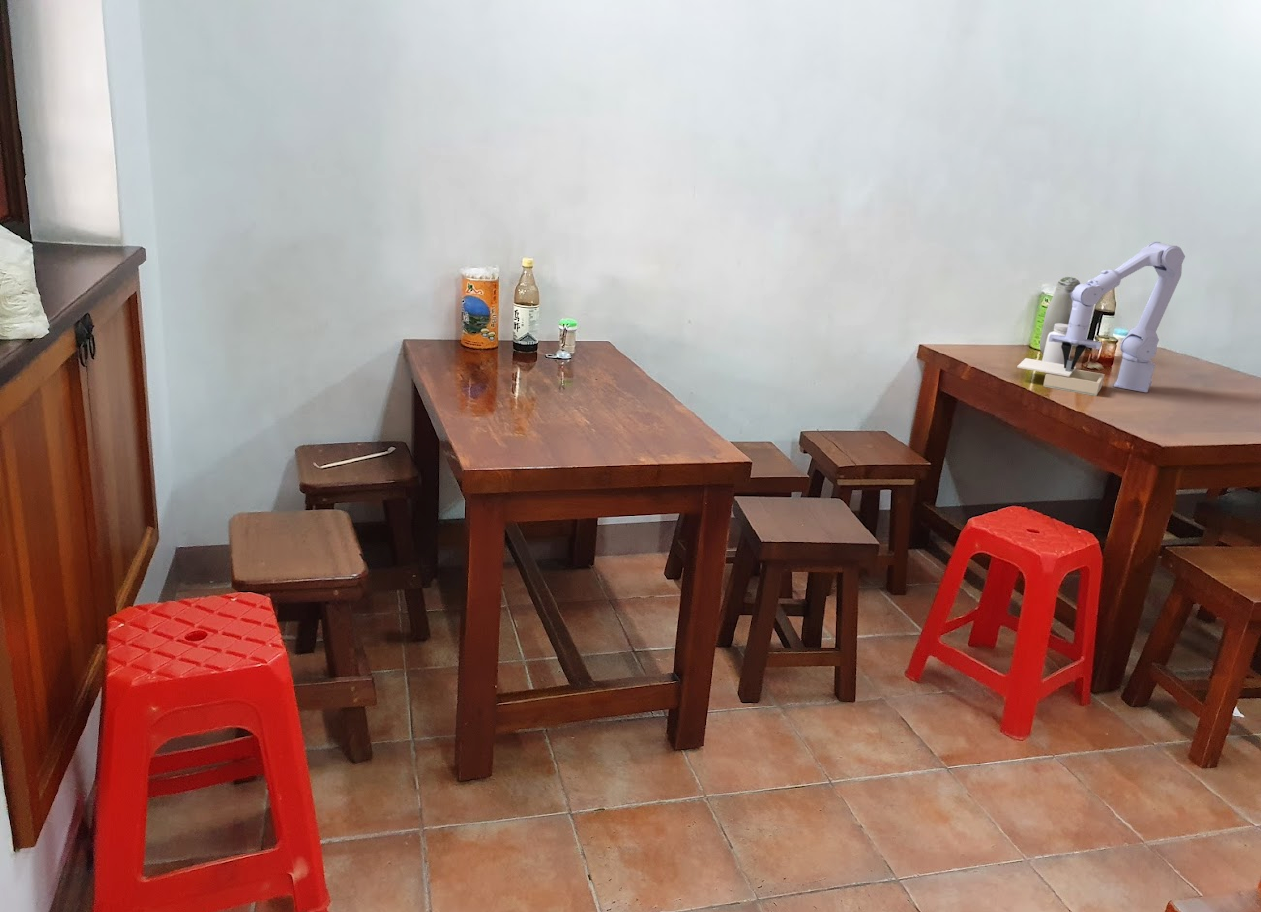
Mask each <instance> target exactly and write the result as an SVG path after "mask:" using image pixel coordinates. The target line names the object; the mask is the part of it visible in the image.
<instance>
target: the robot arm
mask: <svg viewBox="0 0 1261 912" xmlns="http://www.w3.org/2000/svg"><path fill="white" fill-rule="evenodd" d="M1185 259H1186V255H1185V254H1184V252H1183V250H1182V248H1181V247H1180V246H1178V245H1173V244H1172V245H1171V244H1167V243H1162V242H1160V241H1153V242H1151V243H1149V244H1148V245H1147V246H1146V245H1145V246H1144V247H1142V248H1141V250H1140V251H1139V252H1138V253H1136V254H1135V255H1134V256H1132V257H1131V258H1130V259H1129V258H1128V260H1126V261H1125V262H1124V263H1123V264H1121V265H1120V266H1118V267H1117V268H1115V269H1103V270H1101V272H1100V274H1098V275H1096V276H1095V277H1093V278H1091V279H1088V280H1087V281H1086V282H1085V283H1080V284H1079V285H1078V286H1076V287H1075V288H1074V290H1073V292H1071V298H1072V300H1073V303H1072V305H1073V306H1072V310H1071V315H1070V319H1069V324H1068V328H1067V333H1066V336H1061V335H1052V334H1051V335H1050V337H1049V341H1050V342H1058V343H1062V345H1061V348H1062V352H1063V356H1064V368H1066V365H1067V361H1068V359H1069V354H1070V351H1071V352H1072V350H1071V347H1072V348H1073V346H1076V347H1075V349H1074V350H1075V351H1074V357H1073V359H1074V360H1073V363H1072V367H1071V369H1074V367H1076V365H1077V363H1078V360H1080V359H1079V358H1081V356H1082V355H1083V353H1084V352H1085V350H1086V349H1087V348H1090V349H1096V350H1100V349H1101V347H1102V341H1097V340H1092V339H1087V336H1088V332H1089V327H1090V325H1091V324H1090V323H1091V319H1092V314H1093V310H1094V306H1095V305H1097V304H1098V302H1099V301H1100V300H1101V298H1102V297H1103V296H1104V295H1106V294H1107V293H1109V292H1111V291H1112V290H1114V289H1115V288H1117V287H1119V286H1120V285H1121V280H1123V279H1124V278H1126V277H1128V276H1129V275H1130V276H1131V275H1132V274H1134V273H1135V272H1137V271H1139V270H1141V269H1142V268H1145V267H1153V268H1154V269H1155V272H1156V273H1157V275H1158V278H1157V280H1156V282H1155V285H1154V287H1153V289H1152V291H1151V294H1150V296H1149V299H1148V301H1147V302H1146V305H1145V307H1144V309H1143V311H1142V313H1141V317H1139V320H1138V323H1137V324H1136V326H1135V327H1133V328H1131V329H1130V330H1129V331H1128V332H1127V334H1126V336H1125V337H1124V338H1122V340H1121V342H1120V345H1119V347H1120V351H1121V353H1122V359H1121V363H1120V367H1119V372H1118V375H1117V380H1116V381H1115V382H1114V384H1113V388H1117V389H1124V390H1130V391H1135V392H1141V393H1148V392H1149V390H1150V387H1151V386H1152V382H1153V381H1152V378H1153V375H1154V370H1155V366H1156V363H1155V362H1152V361H1151V360H1152V359H1153V358H1155V356H1156V355H1157V351H1158V347H1157V346H1158V343H1159V341H1160V339H1159V336H1158V333H1157V330H1158V328H1159V326H1160V324H1161V321H1162V319H1163V317H1164V314H1165V313H1166V310H1167V308H1168V306H1169V303H1170V302H1171V299H1172V298H1173V295H1174V293H1175V290H1176V288H1177V286H1178V284H1179V281H1180V279H1181V277H1182V271H1183V270H1182V269H1183V262H1184V260H1185ZM1072 345H1073V346H1072ZM1070 355H1071V354H1070Z"/></svg>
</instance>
